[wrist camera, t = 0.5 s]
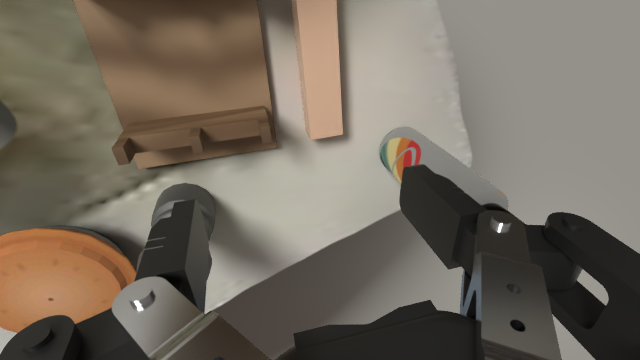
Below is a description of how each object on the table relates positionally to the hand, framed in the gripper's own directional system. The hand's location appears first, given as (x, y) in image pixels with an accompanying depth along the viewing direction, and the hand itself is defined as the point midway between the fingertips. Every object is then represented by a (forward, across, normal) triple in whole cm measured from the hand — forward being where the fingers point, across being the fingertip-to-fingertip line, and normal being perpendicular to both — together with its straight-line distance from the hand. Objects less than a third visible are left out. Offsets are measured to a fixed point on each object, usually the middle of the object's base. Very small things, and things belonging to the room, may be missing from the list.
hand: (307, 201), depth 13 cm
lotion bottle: (+23, -16, +10) cm, 30 cm away
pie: (+23, +24, +19) cm, 38 cm away
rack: (+23, +6, -2) cm, 24 cm away
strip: (+23, -6, -3) cm, 24 cm away
